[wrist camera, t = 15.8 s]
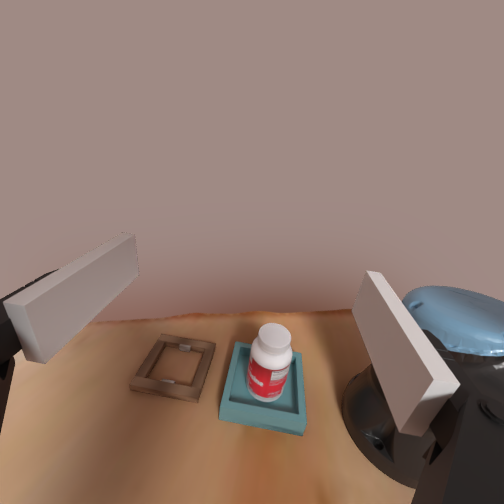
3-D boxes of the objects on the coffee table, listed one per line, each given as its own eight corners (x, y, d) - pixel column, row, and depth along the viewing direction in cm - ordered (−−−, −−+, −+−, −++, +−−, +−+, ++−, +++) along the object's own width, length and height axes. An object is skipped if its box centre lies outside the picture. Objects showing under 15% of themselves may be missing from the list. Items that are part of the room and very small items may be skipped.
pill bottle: (240, 373, 41) (247, 323, 36) (273, 364, 43) (283, 316, 38) (254, 409, 36) (264, 356, 31) (290, 397, 38) (304, 346, 33)
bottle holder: (215, 348, 46) (215, 343, 46) (197, 403, 37) (197, 398, 36) (161, 338, 47) (161, 333, 46) (130, 389, 37) (129, 384, 37)
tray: (298, 364, 45) (301, 353, 44) (302, 436, 34) (306, 423, 33) (234, 353, 46) (235, 341, 44) (218, 419, 35) (220, 406, 34)
